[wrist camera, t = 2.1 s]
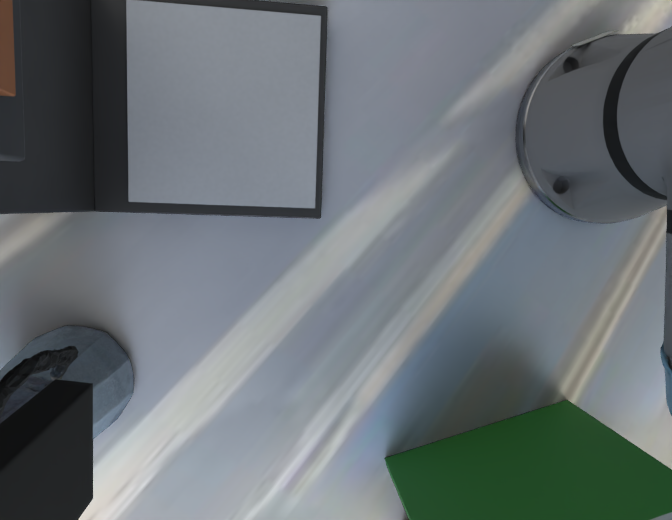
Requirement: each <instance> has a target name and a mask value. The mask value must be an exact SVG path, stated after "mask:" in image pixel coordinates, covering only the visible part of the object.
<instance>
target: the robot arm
mask: <svg viewBox="0 0 672 520" xmlns="http://www.w3.org/2000/svg"><path fill="white" fill-rule="evenodd" d="M618 31H619V30H618ZM614 32H616V31H608V32H605V33H602V34H600V35H597V36H595V37H592V38H589V39H587V40H584V41H581V42H579V43H576V44H573V45H571V46H574V47H572V48H570V49H569V50H567V51H565V52H563V53H561V54H560V55H558V56H557V57H555V58H554V59H553V60H551V61H550V62H549V63H548V64H547V65H546V66H545V67H544V68H543V69H542V70H541V71H540V72H539V73H538V75H537V76H536V77H535V78H534V80H533V81H532V83H531V84H530V86H529V88H528V90H527V92H526V94H525V96H524V98H523V101H522V103H521V107H520V110H519V114H518V119H517V126H516V148H517V154H518V159H519V163H520V166H521V169H522V172H523V174H524V176H525V179H526V181H527V182H528V184H529V186H530V187H531V189H532V190H533V192H534V193H535V194H536V195H537V197H538V198H539V199H540V200H541V201H542V202H543V203H544V204H545V205H547V206H548V207H549V208H551V209H552V210H553V211H555V212H557V213H558V214H560V215H562V216H564V217H567V218H569V219H573V220H576V221H581V222H588V223H616V222H622V221H626V220H630V219H634V218H637V217H640V216H642V215H645V214H647V213H649V212H652V211H654V210H656V209H659V208H661V207H664V206H666V205H667V231H666V282H665V316H664V341H663V345H662V347H661V352H660V353H661V360H662V363H663V366H664V368H665V381H666V399H667V405H668V408H669V411H670V413H671V415H672V27H670V28H668V29H666V30H664V31H662V32H659V33H655V34H624V35H609V34H611V33H614ZM606 35H609V36H606ZM92 499H93V383H85V382H76V381H67V380H58V379H55V380H54V381H53V382H51V383H50V384H49V385H48V386H46V387H45V388H44V389H43V390H41V391H40V392H39V393H38V394H36V395H35V396H34V397H33V398H31V399H30V400H29V401H28V402H26V403H25V404H24V405H23V406H21V407H20V408H19V409H18V410H17V411H15V412H14V413H13V414H12V415H10V416H9V417H8V418H7V419H5V420H4V421H3V422H2V423H0V520H78V519H79V517H80V516H81V514H82V513H83V512H84V510H85V509H86V507H87V506H88V505H89V503H90V502H91V500H92Z"/></svg>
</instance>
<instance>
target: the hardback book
mask: <svg viewBox="0 0 672 520" xmlns="http://www.w3.org/2000/svg"><path fill="white" fill-rule="evenodd" d="M385 461H386V465H387V468H388V471H389V473H390V475H391V478H392V480H393V483H394V485H395V487H396V490H397V492H398V494H399V497H400V499H401V502H402V504H403V506H404V509H405V511H406V513H407V516H408V518H409V520H672V470H671V469H670V468H668V467H667V466H665V465H664V464H662V463H661V462H659V461H658V460H656V459H655V458H653V457H652V456H650V455H649V454H647V453H646V452H644V451H643V450H641V449H640V448H638V447H637V446H635V445H634V444H632V443H631V442H629V441H628V440H626V439H625V438H623V437H622V436H620V435H619V434H617V433H616V432H615V431H613V430H612V429H610V428H609V427H607V426H606V425H604V424H603V423H601V422H600V421H598V420H597V419H595V418H594V417H592V416H591V415H589V414H588V413H586V412H585V411H583V410H582V409H580V408H579V407H577V406H576V405H574V404H573V403H571V402H570V401H568V400H565V401H562V402H559V403H556V404H553V405H550V406H546V407H543V408H540V409H537V410H534V411H531V412H528V413H524V414H521V415H518V416H515V417H512V418H509V419H506V420H503V421H499V422H496V423H493V424H490V425H487V426H484V427H481V428H477V429H474V430H471V431H468V432H465V433H462V434H459V435H456V436H452V437H449V438H446V439H443V440H440V441H437V442H434V443H430V444H427V445H424V446H421V447H418V448H415V449H412V450H409V451H405V452H402V453H399V454H396V455H393V456H390V457H387V458H385Z"/></svg>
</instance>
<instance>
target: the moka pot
mask: <svg viewBox="0 0 672 520" xmlns="http://www.w3.org/2000/svg"><path fill="white" fill-rule="evenodd" d="M55 379H58V380H67V381H76V382H85V383H93V439H94V438H95V437H96V436H98V435H99V434H100V433H101V432H102V431H104V430H105V429H106V428H107V427H109V426H110V425H111V424H112V423H113V422H114V421H116V420H117V419H118V417H119V416H120V414H121V413H122V411H123V410H124V408H125V407H126V405H127V403H128V402H129V400H130V399H131V397H132V395H133V390H134V376H133V371H132V367H131V363H130V360H129V358H128V356H127V354H126V353H125V352H124V350H123V349H122V348H121V347H120V346H119V345H118V344H117V343H116V342H115V341H114V340H113V339H112V338H111V337H110V336H109V335H108V333H106V332H103V331H100V330H97V329H92V328H89V327H82V326H64V327H61V328H58V329H56V330H53V331H50V332H48V333H46V334H43V335H41V336H39V337H36V338H35V339H33V340H32V341H31V342H30V343H29V344H27V346H26V347H25V348H24V349H22V350H21V351H20V352H19V353H18V354H17V355H16V356H15V357H14V358H12V359H11V360H10V361H9V362H8V363H7V364H6V365H5V366H4V367H3V368H2V369H1V370H0V423H2V422H3V421H4V420H5V419H7V418H8V417H9V416H10V415H12V414H13V413H14V412H15V411H17V410H18V409H19V408H20V407H21V406H23V405H24V404H25V403H26V402H28V401H29V400H30V399H31V398H33V397H34V396H35V395H36V394H38V393H39V392H40V391H41V390H43V389H44V388H45V387H46V386H48V385H49V384H50V383H51V382H53V381H54V380H55Z"/></svg>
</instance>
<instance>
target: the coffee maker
mask: <svg viewBox="0 0 672 520" xmlns="http://www.w3.org/2000/svg"><path fill="white" fill-rule="evenodd" d="M327 9H328V8H327V7H325V6H314V5H303V4H291V3H280V2H268V1H257V0H0V214H14V213H50V212H87V211H100V212H130V213H161V214H192V215H223V216H254V217H285V218H316V219H320V218H321V200H322V168H323V136H324V104H325V73H326V41H327Z"/></svg>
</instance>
